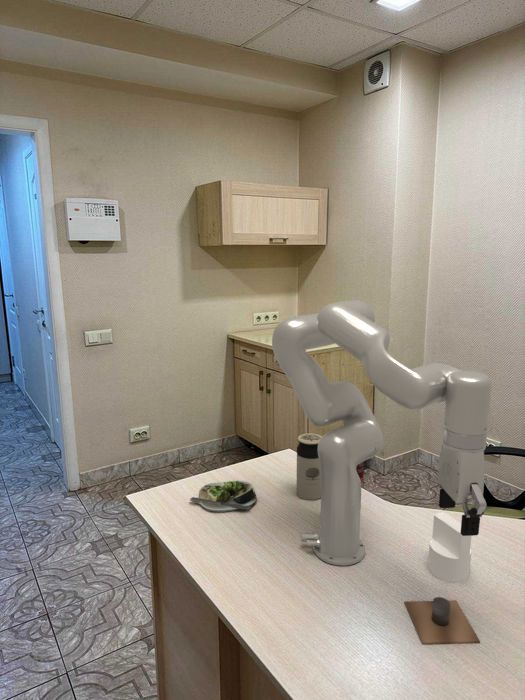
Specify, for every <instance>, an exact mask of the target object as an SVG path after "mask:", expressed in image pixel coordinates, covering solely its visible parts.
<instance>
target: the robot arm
mask: <svg viewBox="0 0 525 700" xmlns="http://www.w3.org/2000/svg"><path fill="white" fill-rule="evenodd" d="M272 333H273V334H272V338H271V346H272V347H271V348H272V351H273V356H274V358H275V360H276V361H277V364H278V365H279V367H280V369H281V370H282V371H283V373H284V374H285V376H286V378H287V380H288V381H289V382H290V385H291V387H292V390H293V391H294V393H295V395H296V397H297V399H298V402H299V403H300V406H301V408H302V409H303V411H304V414H305V415H306V417H307V419H308V421H309V422H310V424H312V425H313V426H316V427H319V428H320V427H327V426H329V425H332V424H336V423H339V422H341V423H342V424H343V425H341V426H338V427H335V428H333V429H331V430H329V431H327V432H326V433H324V434H323V435H321V436H322V438H321V439H320V441H319V443H318V457H319V462H320V469H321V497H320V516H319V517H320V522H319V523H320V524H319V527H317V530H316V531H313V533H308V532H303V533H300V540H301V542H306V545H307V546H306V547H312V548H313V552H314V554H315V555H316V556H317V557H318V558H319V559H320V560H322V561H323V562H325V563H328V564H330V565H335V566H343V567H344V566H352V565H354V564H355V565H356V564H358V563H359V562H361V561H362V560H363V559H364V557H365V556H366V546H365V543H364V542H363V541H362V540H361V539H360V534H361V533H360V529H361V528H360V527H361V511H362V510H361V507H362V506H361V505H362V484H361V481H360V478H359V476H358V474H357V471H356V467H357V465H358V464H360V463H362V462H363V461H364V462H365V461H367V460H369V459H372V458H374V457H376V456H377V455H379V453H381V451H383V448H384V444H385V441H384V440H385V439H384V434H383V431H382V429H381V426H380V424H379V422H378V421H377V419H376V417H375V415H374V413H373V410H372V409H371V408H370V406H369V404H368V402H367V400H366V398H365V396H364V394H363V393H362V391H361V390H360V389H359V388H358V386H356V385H355V384H354V383H352V382H351V381H350V382H349V381H348V380H338V381H334V382H330V380H329V379H328V377H327V376H326V375H325V372H324V369H323V368H322V367H321V365H320V364H319V363H318V361H317V360H316V359H315V358H313V357H312V356H310V355H309V354H308V353H307V350H313V349H317V348H322V347H327V346H331V345H335V344H336V345H337V346H338V347H340V348H341V349H343V350H344V351H346V352H347V353H348V354H349V355H351V356H352V357H354V358H355V359H357V360H359V361H360V363H362V364H363V368H364V371H365V373H366V375H367V377H368V379H369V381H370V382H371V384H372V386H374V387H375V388H376V389H377V390H378V391H379V392H381V394H383V395H385V396H386V397H387V398H388V399H390V400H391V401H393V402H394V403H396V405H397V404H398V405H399V406H401V407H403V408H406V409H408V410H421V409H424V408H427V407H428V406H429V407H430V406H431V405H433V404H438V403H443V402H445V409H444V420H443V421H444V422H443V432H442V434H443V435H442V442H441V446H440V451H439V457H438V466H437V473H436V474H437V476H436V479H437V483H438V485H439V488H440V489H439V496H438V497H439V502H438V506H439V508H440V509H454V508H455V507H456V504H461V505H462V506H461V507H462V510H463V514H461V522H460V523H461V535H462V536H471V537H472V536H479V534H480V526H481V525H480V524H481V522H480V521H481V518H482V517H483V515H484V513H485V510H486V508H487V502H486V499H485V498H484V486H485V450H486V448H487V439H488V428H489V418H490V417H489V415H490V405H491V395H492V380H491V379H490V377H489V376H488V375H487V374H484V373H482V372H479V371H478V372H477V371H473V370H461V369H460V368H457V367H454V366H452V365H449V364H445V363H441V362H431V363H429V364H425V365H421V366H417V367H415V368H409V367H407V366H406V365H404V364H403V363H401V362H399V360H397V359H395V357H392V355H390V353H388V351H387V350H388V348H389V346H390V341H391V336H390V332H389V331H388V330H387V329H385V328H384V327H382V326H380V325H378V324H377V323H376V317H375V312H374V310H373V309H372V308H371V306H370V305H369V304H368V303H366V302H365V301H362V300H359V299H351V300H342V301H336V302H335V301H334V302H331V303H329V304H326V305H325V306H323V307H322V308H321V309H320V311H319V312H318V313H313V314H311V313H310V314H304V315H303V314H302V315H297V316H293V317H288V318H286V319H284V320H282V321H280V322H279V323H278V324H277V325H276V326H275V328H274V330H273V332H272ZM468 497H471V498H468ZM469 504H473V507H471V508H469Z"/></svg>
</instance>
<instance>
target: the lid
mask: <svg viewBox="0 0 525 700" xmlns="http://www.w3.org/2000/svg"><path fill="white" fill-rule="evenodd" d="M403 603H404V606H405V608H406V611H407V612H408V615H409V617H410V620H411V621H412V622H411V623H412V624H413V627H414V629H415V631H416V634H417V635H418V638H419V641H420V643H421V645H422V646H424V645H425V646H426V645H430V646H431V645H432V646H433V645H464V644H466V645H467V644H468V645H469V644H481V641H480V639H479V637H478V635H477V634H476V632H475V630H474V629H473V627H472V625H471V623H470V622H469V620H468V618H467V616H466V615H465V613H464V611H463V610H462V608H461V606H460V605H459V603H458V601H457V600H455V599H452V600H450V599H449V600H448V599H446V598H444V597H441V596H437V597H434V598H433V600H413V601H412V600H411V601H410V600H405V601H404V602H403Z"/></svg>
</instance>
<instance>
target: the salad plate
mask: <svg viewBox="0 0 525 700" xmlns="http://www.w3.org/2000/svg"><path fill="white" fill-rule="evenodd" d="M198 494H199V497H194V496H193V497H190V499H189V501H190V502H192V503H196V504H199V505H201V507H202V508H204V509H206V510H208V511H211V512H217V513H222V512H223V513H225V512H238V511H246V510H250V509H252V507H253V506H254V505H255V504H256V503H257V501H258V498H257V494H256V491H255V488H254V486H253V484H252V483H251V482H248V481H247V480H237V479H236V480H229V481H221V482H220V481H219V482H210V483H207V484H205V485H203V486H202V487H200V489H199V493H198Z"/></svg>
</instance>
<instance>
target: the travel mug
mask: <svg viewBox="0 0 525 700" xmlns="http://www.w3.org/2000/svg"><path fill="white" fill-rule="evenodd" d="M322 436H323V435H320V434H316V433H303V434H300V435H299V436H298V437H297V441H298V445H297V447H296V484H295V486H296V488H295V489H296V490H295V491H296V492H295V493H296V496H298V497H299V498H301V499H304V500H308V501H314V500H317V499H321V469H320V462H319V457H318V443H319V441H320V439H321V438H322Z"/></svg>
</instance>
